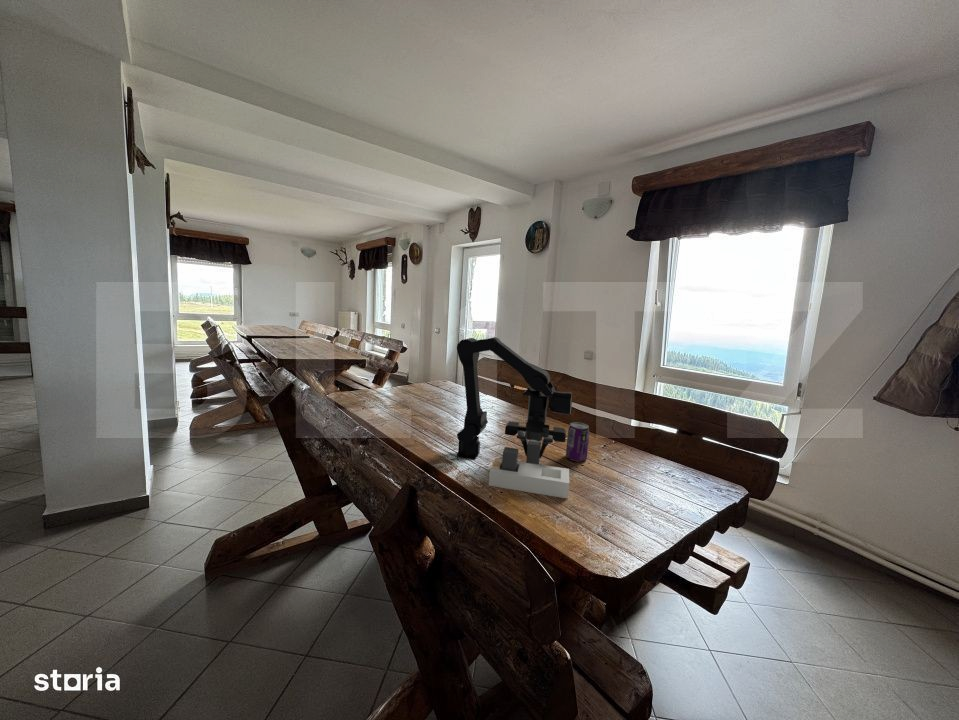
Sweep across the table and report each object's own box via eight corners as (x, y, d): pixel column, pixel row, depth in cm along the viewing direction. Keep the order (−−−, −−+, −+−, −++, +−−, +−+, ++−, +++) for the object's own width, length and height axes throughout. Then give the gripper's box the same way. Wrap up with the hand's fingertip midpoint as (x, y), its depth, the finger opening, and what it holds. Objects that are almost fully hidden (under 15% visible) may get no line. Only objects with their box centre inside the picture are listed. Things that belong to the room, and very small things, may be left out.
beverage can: (587, 464, 122) (591, 429, 120) (565, 461, 124) (569, 427, 122) (585, 455, 129) (589, 423, 127) (565, 453, 130) (568, 420, 129)
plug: (525, 468, 116) (527, 441, 115) (526, 463, 120) (529, 437, 119) (538, 470, 115) (540, 443, 114) (539, 465, 119) (541, 439, 118)
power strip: (488, 485, 104) (490, 453, 103) (494, 471, 113) (496, 442, 111) (567, 498, 99) (571, 465, 98) (567, 483, 108) (570, 452, 107)
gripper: (503, 413, 109) (500, 462, 111) (567, 421, 105) (562, 472, 107) (509, 404, 120) (506, 449, 122) (567, 410, 116) (563, 457, 118)
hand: (533, 456), depth 117 cm, fingers closed on plug, 4 cm apart
